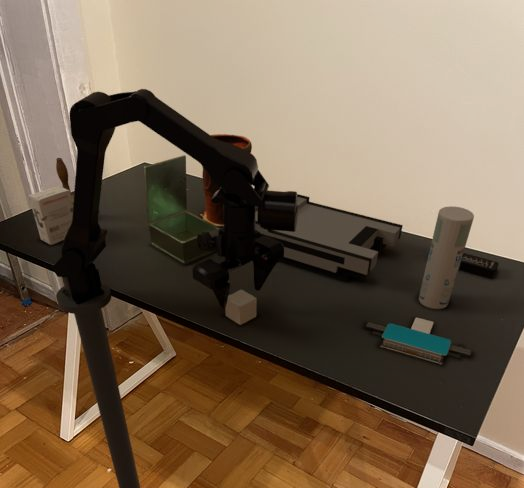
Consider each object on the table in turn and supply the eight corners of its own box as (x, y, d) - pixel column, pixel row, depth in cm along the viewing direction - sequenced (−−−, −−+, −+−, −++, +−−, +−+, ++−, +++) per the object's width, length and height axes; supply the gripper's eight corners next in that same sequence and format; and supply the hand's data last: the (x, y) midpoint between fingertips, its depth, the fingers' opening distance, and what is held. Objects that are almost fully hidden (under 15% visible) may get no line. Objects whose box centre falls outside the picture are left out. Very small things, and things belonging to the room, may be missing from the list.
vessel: (216, 201, 150) (213, 129, 138) (260, 211, 146) (261, 137, 133) (189, 221, 140) (183, 145, 128) (236, 232, 136) (234, 154, 123)
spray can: (444, 312, 108) (470, 223, 96) (414, 304, 111) (435, 215, 98) (452, 298, 113) (477, 210, 100) (422, 289, 115) (443, 203, 102)
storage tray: (221, 249, 128) (220, 228, 125) (184, 265, 122) (182, 243, 118) (187, 231, 135) (186, 210, 132) (151, 245, 129) (148, 224, 126)
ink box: (69, 228, 136) (59, 184, 128) (80, 234, 133) (70, 189, 126) (39, 239, 131) (27, 194, 123) (50, 245, 128) (38, 200, 121)
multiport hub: (436, 254, 128) (438, 245, 126) (496, 270, 122) (499, 262, 121) (430, 261, 125) (432, 252, 124) (491, 279, 119) (494, 270, 118)
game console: (364, 289, 115) (370, 256, 110) (243, 251, 128) (243, 220, 122) (397, 251, 129) (403, 220, 123) (285, 220, 141) (286, 191, 136)
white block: (240, 325, 104) (240, 306, 101) (225, 315, 106) (224, 297, 103) (256, 316, 106) (256, 298, 103) (241, 307, 109) (241, 289, 106)
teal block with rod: (475, 336, 102) (477, 329, 101) (465, 372, 94) (467, 365, 93) (376, 309, 109) (377, 303, 108) (358, 341, 100) (359, 334, 99)
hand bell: (73, 227, 136) (59, 166, 126) (50, 219, 140) (35, 160, 130) (96, 215, 142) (84, 156, 132) (73, 208, 145) (60, 150, 135)
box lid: (186, 155, 122) (173, 148, 124) (145, 167, 116) (132, 159, 118) (186, 209, 132) (175, 202, 134) (149, 223, 125) (137, 215, 128)
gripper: (247, 198, 103) (247, 267, 113) (170, 226, 93) (178, 299, 103) (287, 216, 97) (284, 287, 107) (210, 248, 87) (214, 324, 97)
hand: (240, 298), depth 103 cm, fingers open, 9 cm apart
